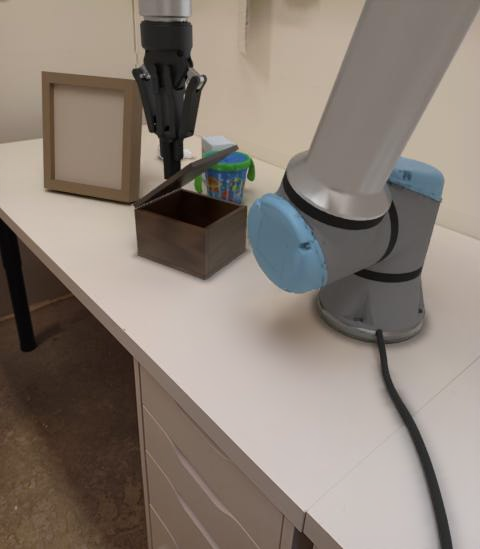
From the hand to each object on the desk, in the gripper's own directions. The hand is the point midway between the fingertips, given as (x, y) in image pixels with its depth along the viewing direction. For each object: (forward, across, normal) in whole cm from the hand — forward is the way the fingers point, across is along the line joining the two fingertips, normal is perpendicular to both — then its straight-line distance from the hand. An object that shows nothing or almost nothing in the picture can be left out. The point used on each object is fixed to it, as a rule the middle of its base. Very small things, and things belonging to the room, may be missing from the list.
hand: (172, 177), depth 80 cm
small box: (+13, +13, -33) cm, 38 cm away
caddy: (+13, -4, 0) cm, 14 cm away
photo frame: (+13, +32, -14) cm, 38 cm away
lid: (0, -3, 0) cm, 3 cm away
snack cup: (+13, +5, -24) cm, 28 cm away
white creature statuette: (+13, +34, -41) cm, 55 cm away
